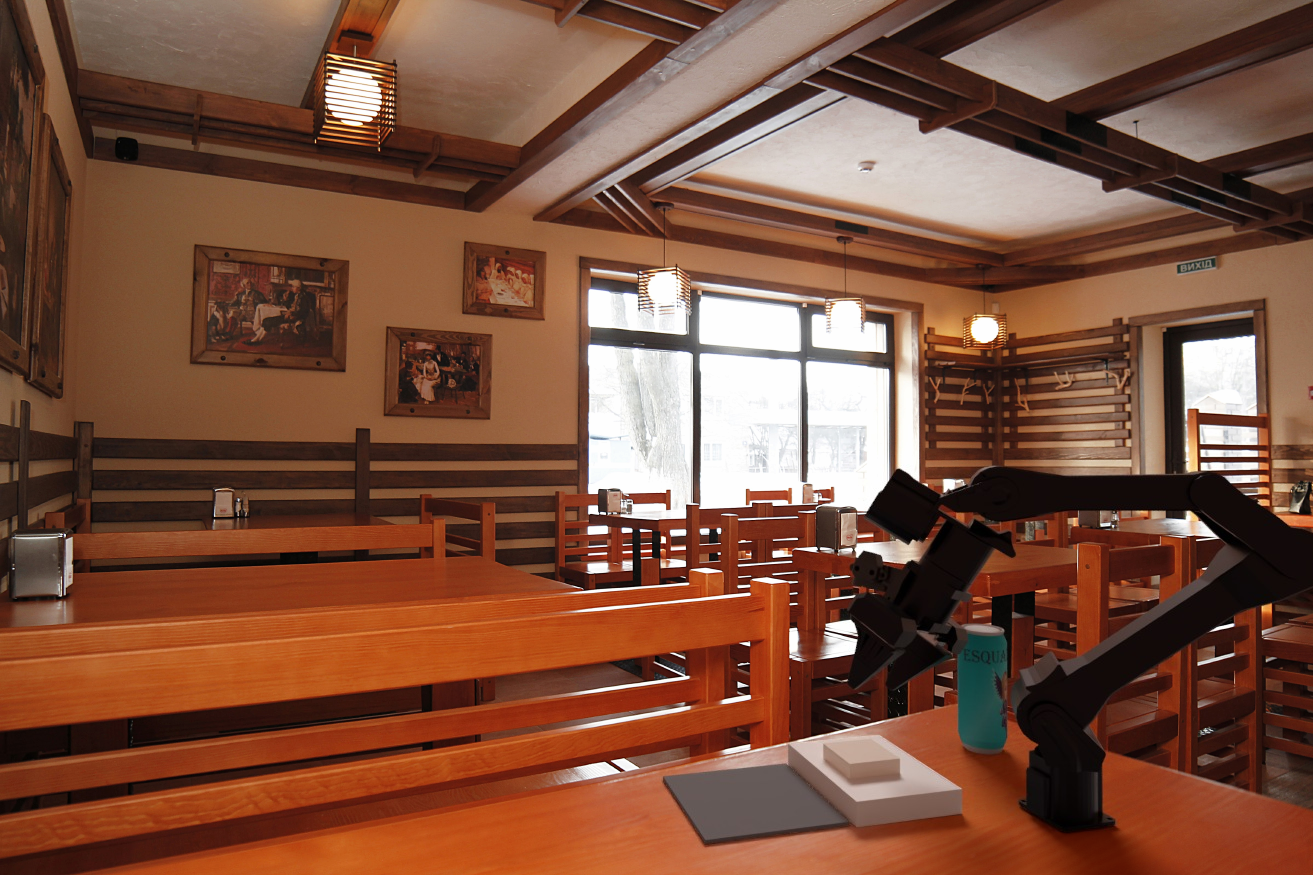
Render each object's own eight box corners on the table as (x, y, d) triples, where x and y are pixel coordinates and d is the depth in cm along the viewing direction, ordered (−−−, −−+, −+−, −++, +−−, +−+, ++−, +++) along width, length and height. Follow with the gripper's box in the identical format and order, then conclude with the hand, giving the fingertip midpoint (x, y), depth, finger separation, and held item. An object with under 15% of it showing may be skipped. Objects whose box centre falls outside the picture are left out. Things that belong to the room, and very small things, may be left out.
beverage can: (1003, 760, 94) (1002, 635, 94) (953, 750, 97) (952, 629, 97) (1010, 745, 99) (1010, 626, 99) (963, 736, 102) (962, 620, 102)
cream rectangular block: (870, 752, 89) (870, 738, 89) (900, 773, 83) (900, 758, 84) (823, 757, 88) (823, 743, 88) (849, 779, 82) (849, 763, 82)
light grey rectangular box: (878, 755, 95) (878, 734, 95) (962, 813, 80) (962, 788, 80) (788, 764, 92) (788, 743, 92) (856, 827, 77) (856, 801, 77)
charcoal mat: (785, 766, 91) (786, 763, 91) (849, 825, 77) (849, 821, 77) (662, 779, 88) (662, 776, 88) (705, 844, 73) (705, 839, 73)
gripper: (921, 541, 96) (854, 645, 98) (849, 515, 82) (774, 636, 85) (1001, 594, 88) (927, 706, 91) (936, 575, 75) (851, 706, 77)
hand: (870, 687), depth 86 cm, fingers open, 9 cm apart
